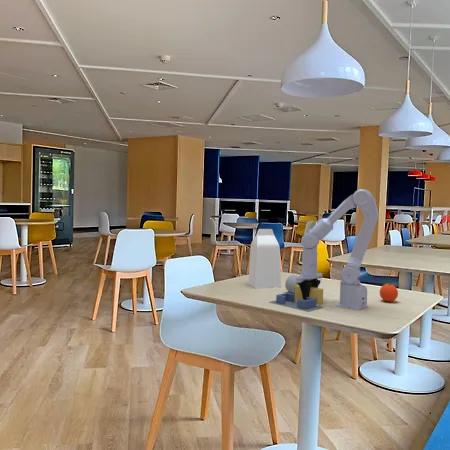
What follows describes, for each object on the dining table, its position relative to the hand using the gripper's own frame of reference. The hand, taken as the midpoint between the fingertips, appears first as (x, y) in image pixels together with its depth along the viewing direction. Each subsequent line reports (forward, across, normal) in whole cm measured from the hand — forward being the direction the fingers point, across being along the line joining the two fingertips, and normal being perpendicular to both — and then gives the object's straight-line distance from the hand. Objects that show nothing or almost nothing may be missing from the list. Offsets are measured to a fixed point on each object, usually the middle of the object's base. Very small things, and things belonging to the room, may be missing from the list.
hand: (308, 298), depth 177 cm
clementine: (+2, -26, +19) cm, 33 cm away
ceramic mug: (+2, -10, -12) cm, 16 cm away
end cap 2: (+1, +8, +5) cm, 9 cm away
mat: (+1, +8, 0) cm, 8 cm away
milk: (+2, -12, -33) cm, 35 cm away
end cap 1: (+1, +8, -5) cm, 10 cm away
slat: (+2, 0, 0) cm, 2 cm away
